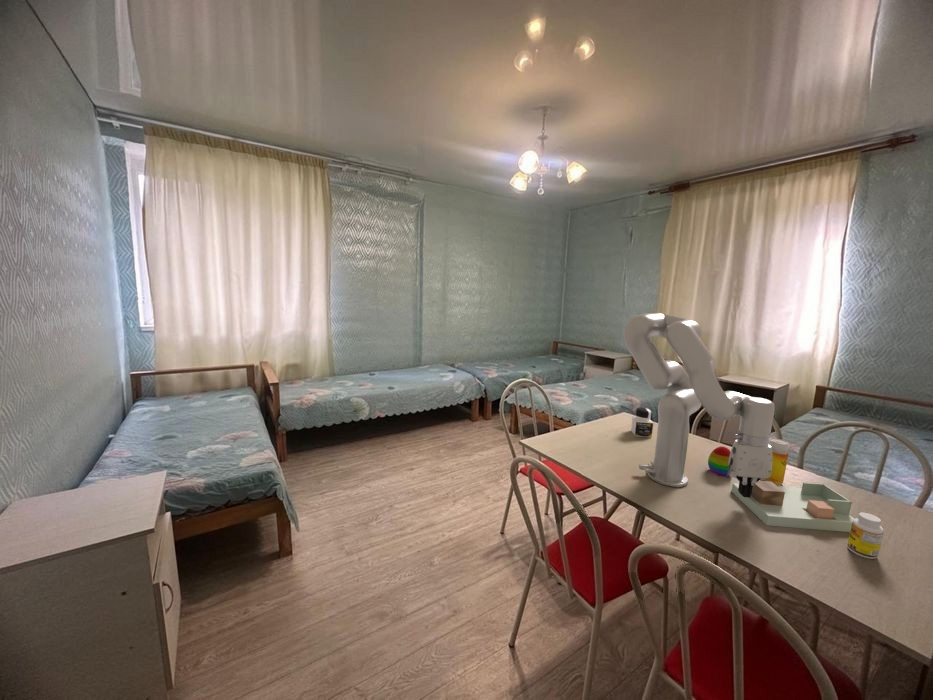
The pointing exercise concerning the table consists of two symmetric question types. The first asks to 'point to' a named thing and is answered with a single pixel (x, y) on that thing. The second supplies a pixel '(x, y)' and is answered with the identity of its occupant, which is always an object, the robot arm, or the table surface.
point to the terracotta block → (819, 509)
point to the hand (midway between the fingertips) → (744, 495)
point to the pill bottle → (778, 460)
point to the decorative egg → (719, 461)
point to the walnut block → (768, 493)
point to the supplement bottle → (865, 536)
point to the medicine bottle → (642, 423)
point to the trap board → (802, 508)
